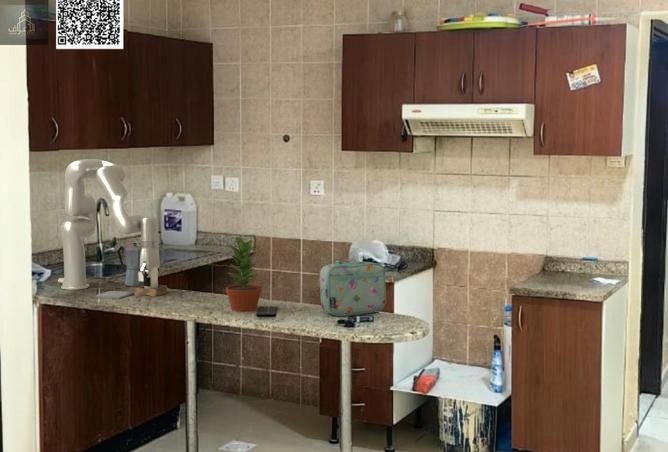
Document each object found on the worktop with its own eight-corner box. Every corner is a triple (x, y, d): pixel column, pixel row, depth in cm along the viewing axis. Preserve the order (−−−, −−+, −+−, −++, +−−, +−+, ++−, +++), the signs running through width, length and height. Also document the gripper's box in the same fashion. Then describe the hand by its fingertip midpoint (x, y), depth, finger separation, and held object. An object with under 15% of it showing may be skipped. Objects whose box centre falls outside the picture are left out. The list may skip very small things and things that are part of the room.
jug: (136, 294, 440) (135, 267, 438) (143, 291, 445) (142, 265, 444) (153, 295, 437) (153, 268, 435) (160, 292, 442) (159, 266, 441)
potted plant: (249, 314, 395) (248, 239, 391) (219, 310, 403) (217, 236, 399) (270, 307, 407) (270, 235, 404) (241, 304, 415) (240, 232, 412)
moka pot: (144, 287, 456) (143, 244, 454) (113, 286, 460) (112, 243, 457) (152, 284, 466) (151, 241, 463) (121, 283, 469) (120, 241, 467)
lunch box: (326, 318, 385) (326, 264, 383) (316, 314, 395) (316, 260, 392) (388, 313, 396) (388, 259, 393) (376, 308, 405) (376, 256, 403)
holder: (134, 295, 437) (134, 288, 437) (146, 291, 447) (146, 284, 447) (155, 296, 434) (155, 289, 434) (167, 292, 444) (167, 285, 443)
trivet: (95, 297, 433) (95, 295, 433) (110, 292, 444) (110, 290, 444) (119, 298, 429) (119, 297, 429) (133, 294, 440) (133, 292, 440)
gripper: (152, 241, 447) (153, 281, 449) (132, 246, 431) (133, 287, 433) (166, 242, 445) (168, 282, 447) (147, 247, 429) (148, 288, 431)
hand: (151, 284), depth 440 cm, fingers closed on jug, 6 cm apart
